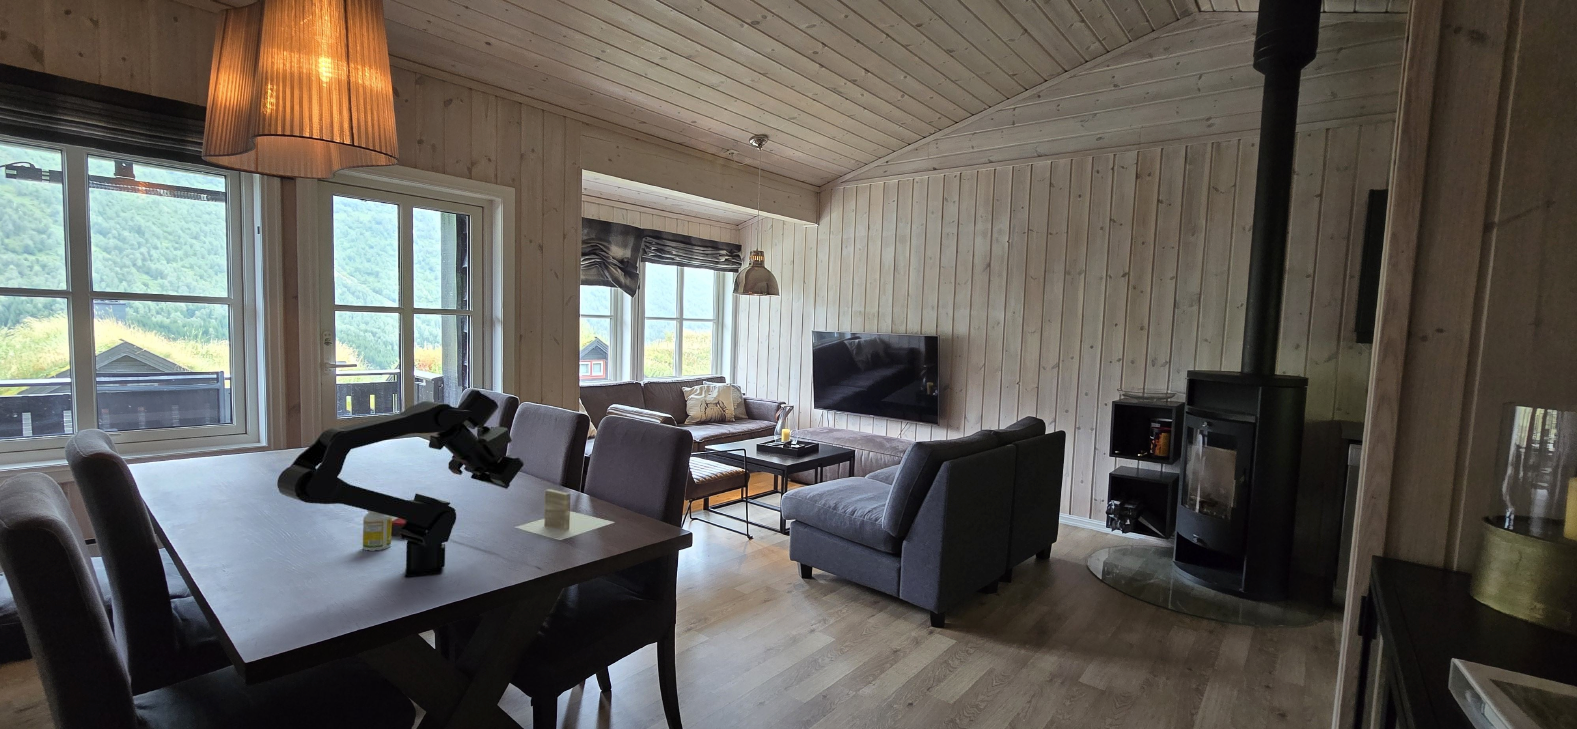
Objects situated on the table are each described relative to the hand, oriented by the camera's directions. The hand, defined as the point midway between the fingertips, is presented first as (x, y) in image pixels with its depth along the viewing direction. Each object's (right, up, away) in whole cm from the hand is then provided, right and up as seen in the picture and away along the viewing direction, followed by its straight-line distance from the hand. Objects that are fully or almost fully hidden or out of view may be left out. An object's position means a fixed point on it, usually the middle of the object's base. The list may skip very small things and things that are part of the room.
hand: (507, 486), depth 151 cm
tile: (+6, -13, +13) cm, 20 cm away
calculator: (-28, -12, +11) cm, 33 cm away
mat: (+8, -13, +16) cm, 22 cm away
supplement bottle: (-27, -13, -5) cm, 30 cm away
